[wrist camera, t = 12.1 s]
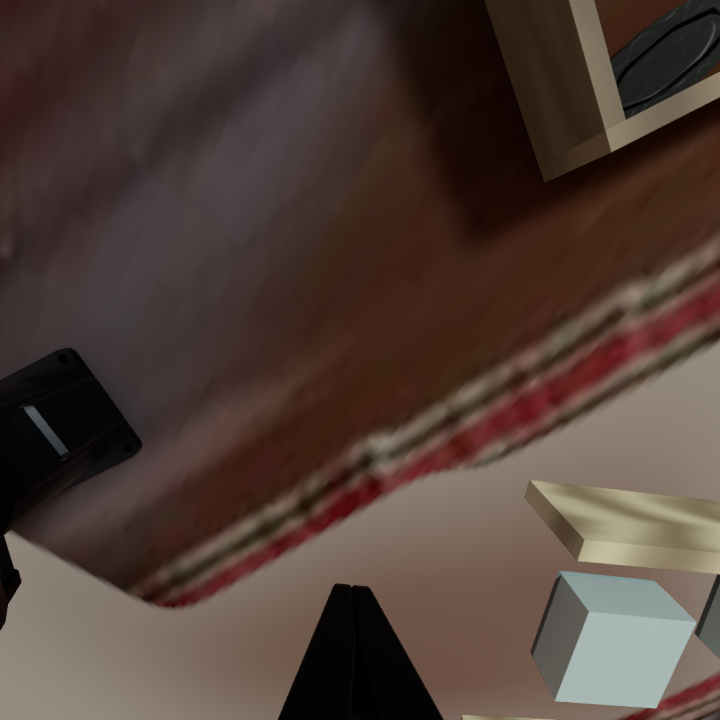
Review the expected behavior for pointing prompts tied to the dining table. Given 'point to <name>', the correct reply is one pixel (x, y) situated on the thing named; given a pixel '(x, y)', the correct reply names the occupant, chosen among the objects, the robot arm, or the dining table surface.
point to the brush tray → (574, 83)
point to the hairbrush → (668, 56)
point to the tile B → (711, 620)
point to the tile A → (609, 640)
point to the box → (628, 530)
